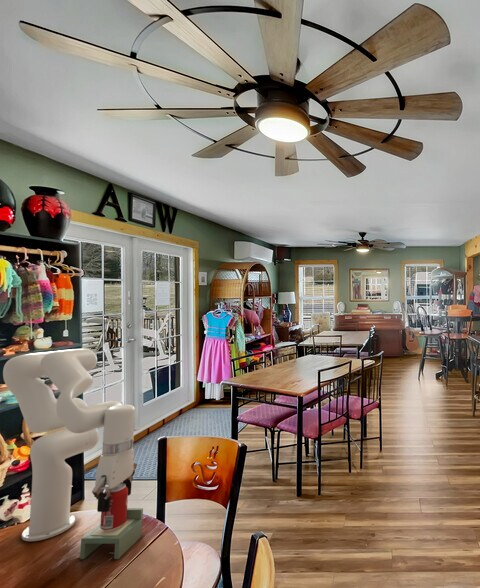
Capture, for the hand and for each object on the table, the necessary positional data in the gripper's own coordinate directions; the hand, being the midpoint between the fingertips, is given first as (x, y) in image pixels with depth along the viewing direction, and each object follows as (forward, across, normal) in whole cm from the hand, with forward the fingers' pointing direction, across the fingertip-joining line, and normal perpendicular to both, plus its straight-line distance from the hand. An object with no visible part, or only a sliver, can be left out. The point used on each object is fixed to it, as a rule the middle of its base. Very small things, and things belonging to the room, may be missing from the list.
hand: (114, 502), depth 106 cm
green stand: (+14, 0, 0) cm, 14 cm away
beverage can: (+8, 0, 0) cm, 8 cm away
